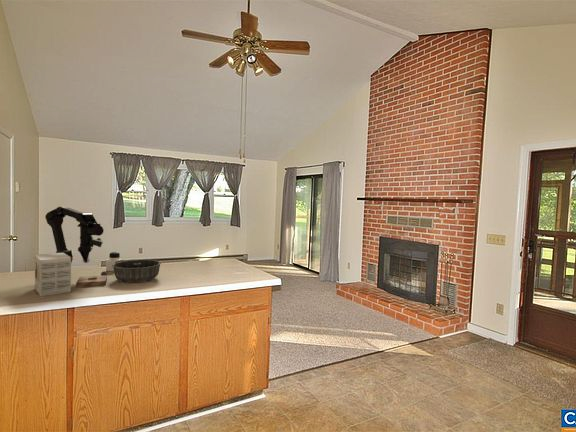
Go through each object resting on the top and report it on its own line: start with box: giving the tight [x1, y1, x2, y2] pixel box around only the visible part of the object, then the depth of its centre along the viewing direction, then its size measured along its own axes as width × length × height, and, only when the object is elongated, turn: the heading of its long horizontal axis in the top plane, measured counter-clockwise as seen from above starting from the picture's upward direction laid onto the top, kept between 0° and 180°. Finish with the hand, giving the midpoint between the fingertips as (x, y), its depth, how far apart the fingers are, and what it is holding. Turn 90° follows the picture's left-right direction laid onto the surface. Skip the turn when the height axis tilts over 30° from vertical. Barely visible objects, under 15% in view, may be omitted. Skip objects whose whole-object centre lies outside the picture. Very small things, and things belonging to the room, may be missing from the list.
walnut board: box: [75, 274, 108, 288], centre depth 190 cm, size 14×14×2 cm
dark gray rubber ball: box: [100, 270, 108, 276], centre depth 205 cm, size 4×4×4 cm
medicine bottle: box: [105, 251, 124, 273], centre depth 223 cm, size 7×7×12 cm
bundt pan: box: [112, 259, 162, 284], centre depth 202 cm, size 26×26×10 cm
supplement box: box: [34, 252, 72, 297], centre depth 174 cm, size 17×13×18 cm
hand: (86, 261), depth 196 cm, fingers closed on steel ball, 3 cm apart
